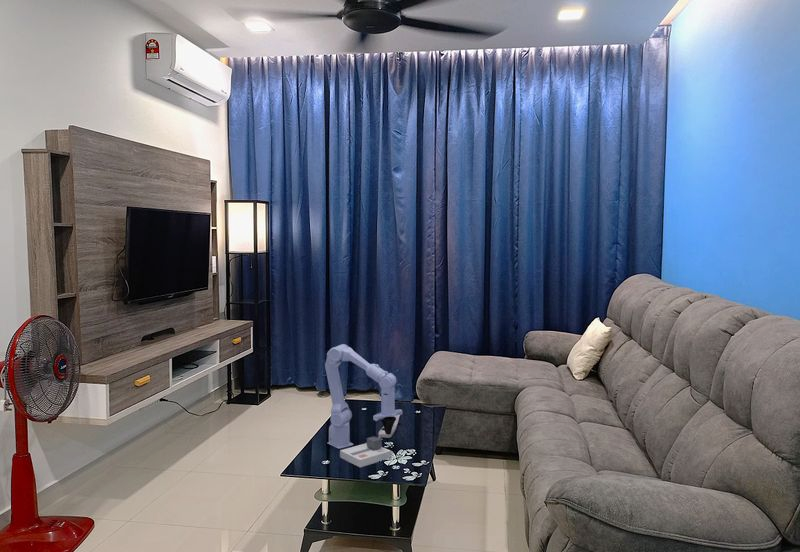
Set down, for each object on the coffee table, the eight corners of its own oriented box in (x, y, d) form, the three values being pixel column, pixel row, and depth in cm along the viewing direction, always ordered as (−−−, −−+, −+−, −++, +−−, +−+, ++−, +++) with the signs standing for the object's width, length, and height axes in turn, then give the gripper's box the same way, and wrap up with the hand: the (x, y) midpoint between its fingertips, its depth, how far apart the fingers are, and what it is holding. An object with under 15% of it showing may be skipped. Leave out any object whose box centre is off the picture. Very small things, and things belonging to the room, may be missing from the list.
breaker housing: (370, 448, 250) (370, 441, 250) (391, 457, 240) (391, 450, 240) (339, 457, 240) (339, 449, 240) (360, 467, 229) (360, 459, 229)
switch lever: (374, 444, 246) (374, 436, 246) (381, 447, 242) (381, 439, 242) (366, 446, 243) (366, 438, 243) (374, 449, 239) (374, 441, 239)
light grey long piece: (400, 412, 285) (389, 428, 260) (401, 424, 285) (389, 441, 261) (389, 412, 286) (376, 427, 262) (389, 423, 286) (376, 440, 262)
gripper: (380, 407, 239) (380, 440, 240) (406, 401, 248) (407, 432, 249) (370, 404, 244) (370, 435, 245) (396, 398, 254) (396, 428, 254)
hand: (388, 433), depth 247 cm, fingers closed
